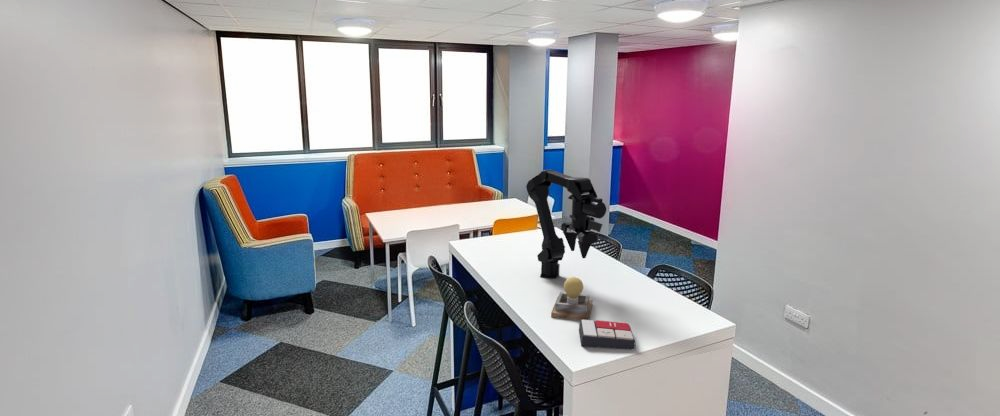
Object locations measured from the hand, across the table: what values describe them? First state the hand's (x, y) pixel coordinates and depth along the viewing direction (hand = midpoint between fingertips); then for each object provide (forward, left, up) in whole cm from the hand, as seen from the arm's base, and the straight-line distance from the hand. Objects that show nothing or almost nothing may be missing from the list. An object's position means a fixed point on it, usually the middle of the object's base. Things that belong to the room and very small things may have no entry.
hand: (578, 254), depth 189 cm
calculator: (+13, -38, -14) cm, 43 cm away
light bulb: (+1, -21, -12) cm, 24 cm away
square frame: (+1, -21, -13) cm, 25 cm away
